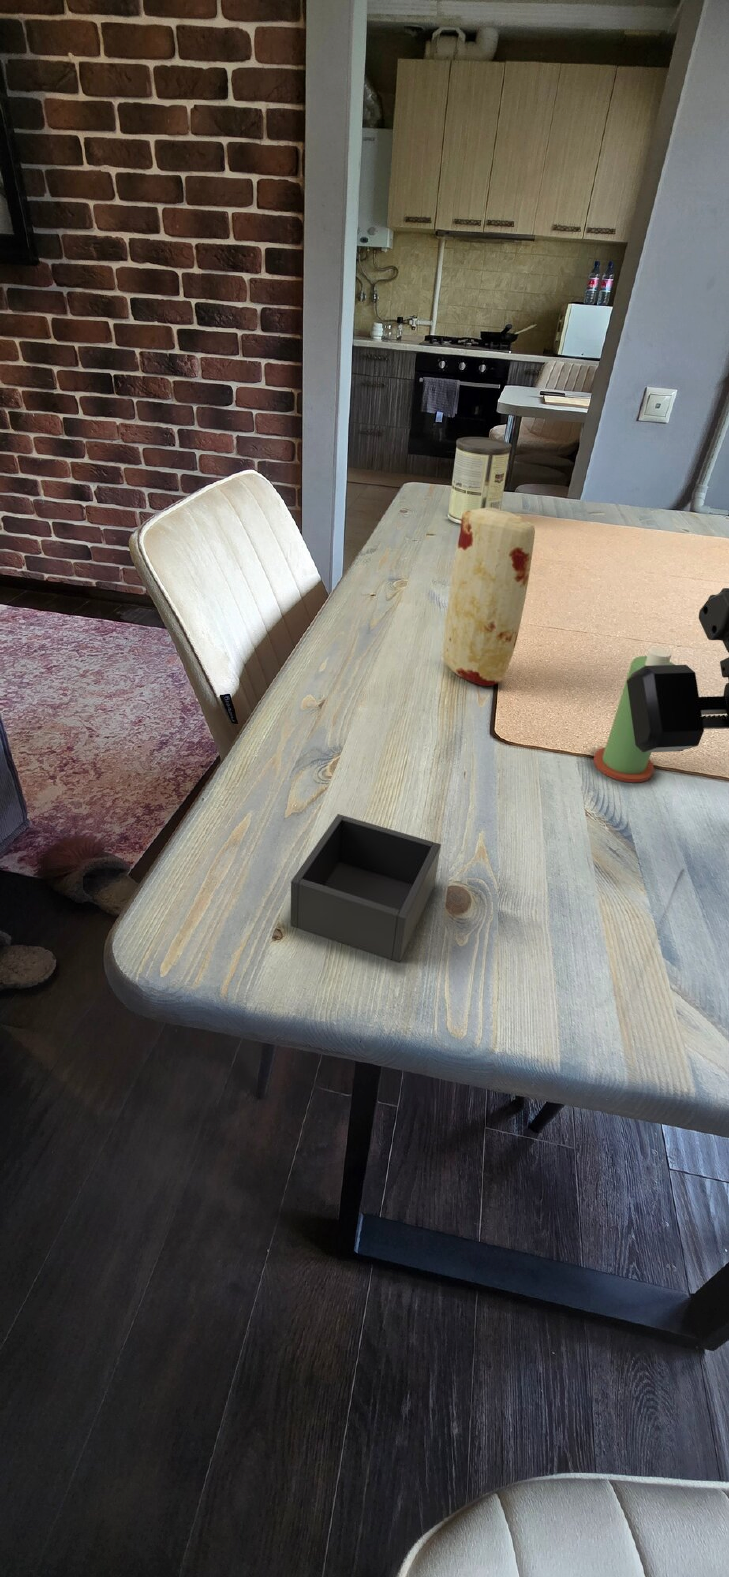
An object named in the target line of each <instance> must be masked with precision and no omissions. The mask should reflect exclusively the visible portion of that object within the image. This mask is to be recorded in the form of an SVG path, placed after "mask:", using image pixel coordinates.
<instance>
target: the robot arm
mask: <svg viewBox="0 0 729 1577" xmlns="http://www.w3.org/2000/svg"><path fill="white" fill-rule="evenodd" d="M698 621H699V623H700V625H701V627H702V630H703V631H704V634H705V636H706V638H707V639H708V640H709V641H722V643H723V645H724V648H725V650H726V652H727V653H728V654H729V587H723V588H722V589H721V591H719V593H717V594H711V595H709V597H708V598H707V600H706V601H705V603H704V604H703V605H702V607H701V608H700V609H699V612H698ZM719 666H720V672H721V677H722V678H727V679H728V682H727V683H725V685H724V689H723V695H716V696H715V695H713V696H700V695H699V688H698V682H697V675H696V672H695V671H694V670H693V669H692V668H691V667H690V666H689V665H688V664H675V665H653V666H644V667H642V668H641V669H639V670H637V671H636V672H634V673H632V674H631V676H630V677H629V678H628V679H627V678H626V679H627V687H628V695H629V702H630V709H631V717H632V724H633V731H634V739H635V746H636V747H637V748H639V749H640V750H641V751H642V752H643V753H649V752H651V753H669V752H670V753H671V752H683V751H684V750H685V751H686V750H689V749H693V748H697V747H698V746H699V745H700V742H701V739H702V737H703V734H704V732H705V730H724V729H729V656H728V657H726V658H724V659H722V660H719Z"/></svg>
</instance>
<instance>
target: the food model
mask: <svg viewBox="0 0 729 1577" xmlns="http://www.w3.org/2000/svg"><path fill="white" fill-rule="evenodd" d="M459 530H460V531H459V535H458V539H457V544H456V550H455V555H454V561H453V566H452V571H451V579H450V588H449V597H448V602H447V608H446V614H445V622H444V640H443V649H442V659H443V661H444V663H445V664H446V665H447V667H448V668H449V669H450V670H451V671H452V672H453V673H455V674H456V675H457V676H459V677H460V678H463V679H464V680H466V681H469V682H471V683H472V684H475V685H477V686H478V685H479V686H481V687H490V686H491V687H492V686H494V685H497V684H499V683H501V682H502V680H503V678H504V677H505V675H506V672H507V670H508V668H509V666H510V663H511V661H512V657H513V655H514V652H515V649H516V644H517V640H518V636H519V632H520V627H521V622H522V619H523V618H522V617H523V612H524V607H525V604H526V602H525V601H526V596H527V591H528V586H529V580H530V573H531V566H532V560H533V553H534V552H533V551H534V545H535V535H536V529H535V525H534V524H533V523H531V522H529V521H525V520H523V519H522V517H521V516H519V515H518V514H517V515H516V514H515V513H512V512H510V511H506V510H502V509H500V510H499V509H496V508H490V507H486V508H481V509H476V510H468V511H465V512H464V513H463V515H462V521H461V524H460V528H459Z"/></svg>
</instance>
